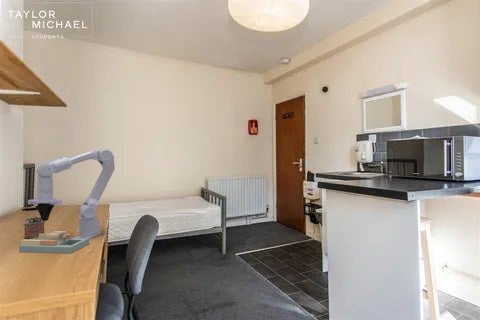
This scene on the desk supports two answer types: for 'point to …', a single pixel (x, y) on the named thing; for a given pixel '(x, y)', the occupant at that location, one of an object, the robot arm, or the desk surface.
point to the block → (57, 236)
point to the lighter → (33, 228)
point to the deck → (53, 245)
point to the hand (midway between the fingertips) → (45, 220)
